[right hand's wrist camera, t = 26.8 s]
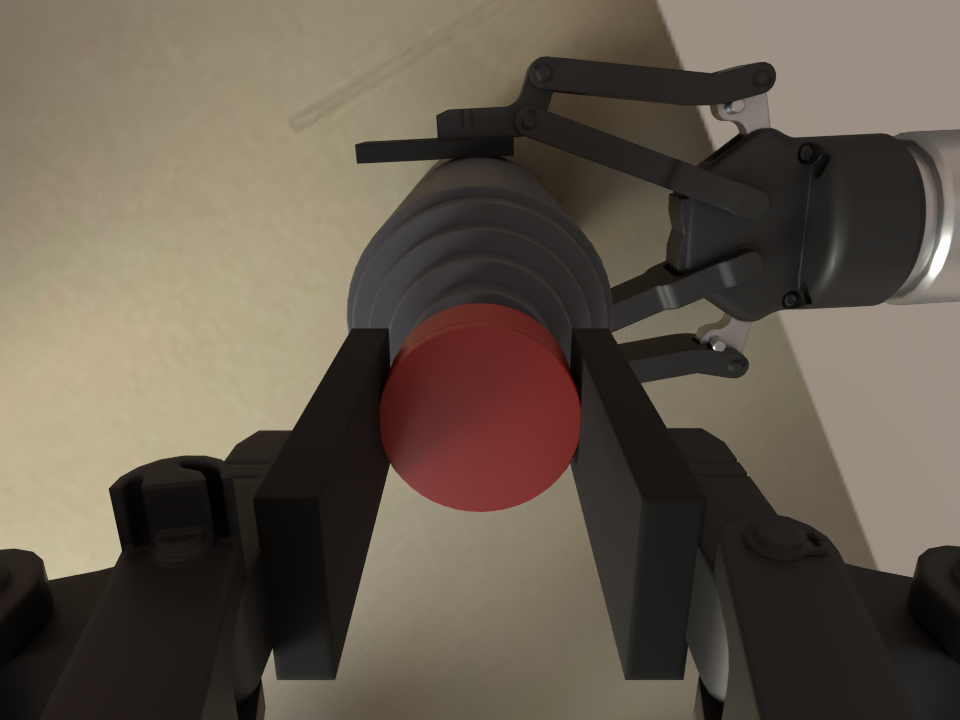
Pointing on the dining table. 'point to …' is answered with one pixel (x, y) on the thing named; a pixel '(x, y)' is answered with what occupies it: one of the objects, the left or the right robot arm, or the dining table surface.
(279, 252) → the dining table surface
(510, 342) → the cap
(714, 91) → the left robot arm
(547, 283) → the bottle
